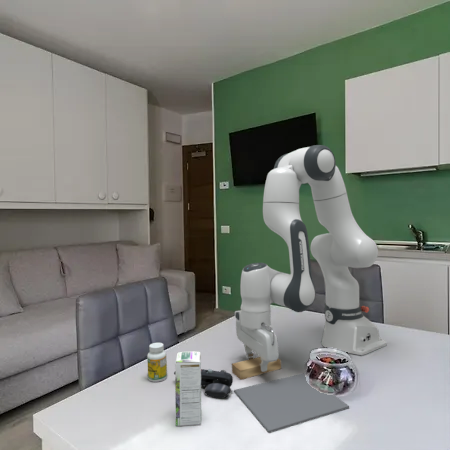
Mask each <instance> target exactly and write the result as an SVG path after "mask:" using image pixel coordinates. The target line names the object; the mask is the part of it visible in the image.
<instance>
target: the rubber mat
mask: <svg viewBox="0 0 450 450" xmlns="http://www.w3.org/2000/svg"><path fill="white" fill-rule="evenodd" d="M305 374H306V373H304V372H303V373H299V374H294V375H290V376H286V377H281V378H278V379H274V380H269V381H265V382H261V383H257V384H254V385H248V386H245V387H240V388H236V389H234V390H233V392H234V394H235V395H236V396H237V397H238V398H239V400H240V401H241V402H242V403H243V404H244V406H246V408H247V409H248V410H249V412H251V413H252V415H253V416H254V417H255V418H256V420H257V421H258V422H259V423H260V425H261V426H262V427H263V428H264V429H265V430H266V432H267V433H268V434H271V433H273V432H277V431H280V430H283V429H286V428H290V427H293V426H296V425H300V424H302V423H306V422H309V421H312V420H315V419H320V418H322V417H325V416H329V415H331V414H332V415H333V414H334V413H338V412H341V411H345V410H347V409H350V405H348V404H347V403H346V402H345V401H344V400H341V399H340V398H339V397H338V396H336V395H335V394H333V395H327V394H324V393H320V392H319V391H317V390H316V389H314V388H312V387H311V386H310V385H309V384H308V383H307V381H306V377H305Z"/></svg>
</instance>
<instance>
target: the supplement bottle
mask: <svg viewBox="0 0 450 450" xmlns="http://www.w3.org/2000/svg"><path fill="white" fill-rule="evenodd" d="M148 347H149V348H148V349H149V352H148V353H147V357H146V359H147V379H148V380H149V381H150V382H151V383H160V382H162V381H165V380H166V379H167V377H168V367H167V366H168V365H167V363H168V362H167V361H168V360H167V352H166V350H164V347H165V346H164V343H162V342H153V343H150V344H149V346H148Z"/></svg>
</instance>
